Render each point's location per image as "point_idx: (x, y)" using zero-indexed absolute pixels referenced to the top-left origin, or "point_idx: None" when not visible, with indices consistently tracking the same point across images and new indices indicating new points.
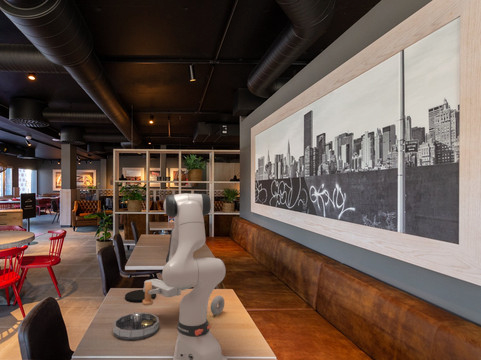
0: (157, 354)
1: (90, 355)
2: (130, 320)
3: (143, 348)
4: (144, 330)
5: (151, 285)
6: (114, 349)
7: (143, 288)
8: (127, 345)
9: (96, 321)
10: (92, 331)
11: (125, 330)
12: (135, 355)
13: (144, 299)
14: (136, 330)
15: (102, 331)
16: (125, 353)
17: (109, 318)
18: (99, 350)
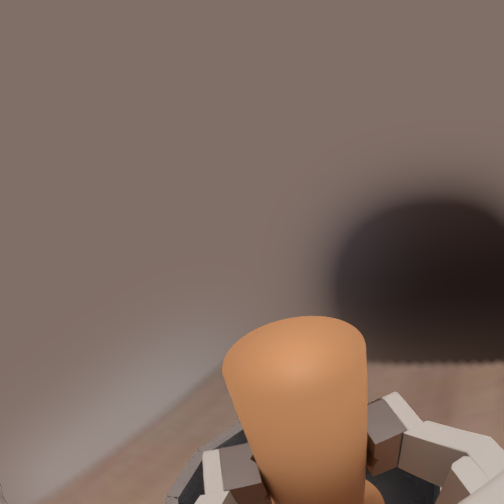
0: (57, 494)
1: (211, 371)
2: (417, 486)
3: (121, 486)
4: (167, 500)
5: (256, 438)
6: (194, 419)
7: (392, 393)
8: (186, 456)
9: (471, 365)
10: (382, 369)
11: (226, 434)
12: (109, 452)
13: (371, 489)
14: (190, 470)
15: (369, 395)
16: (143, 436)
17: (497, 399)
18: (221, 388)
